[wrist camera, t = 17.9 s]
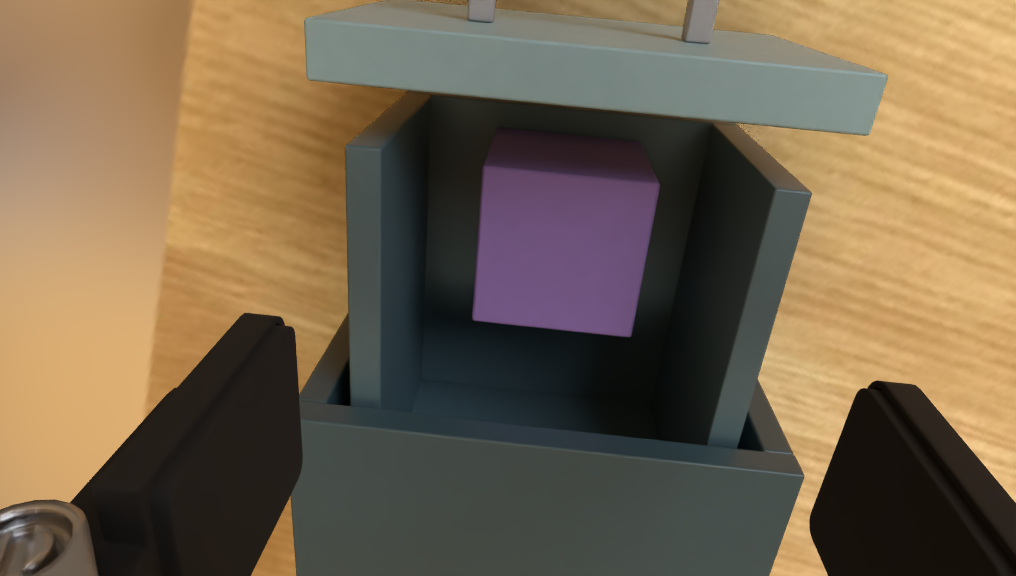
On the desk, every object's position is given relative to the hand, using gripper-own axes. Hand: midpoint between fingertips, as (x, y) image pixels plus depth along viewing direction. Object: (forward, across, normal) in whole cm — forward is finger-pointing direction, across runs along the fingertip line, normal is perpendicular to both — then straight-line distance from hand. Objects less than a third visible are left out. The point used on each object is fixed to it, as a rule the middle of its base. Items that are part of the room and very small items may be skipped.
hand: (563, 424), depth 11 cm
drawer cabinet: (+14, 0, +11) cm, 18 cm away
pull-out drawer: (+13, 0, -1) cm, 13 cm away
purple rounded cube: (+12, 0, 0) cm, 12 cm away
